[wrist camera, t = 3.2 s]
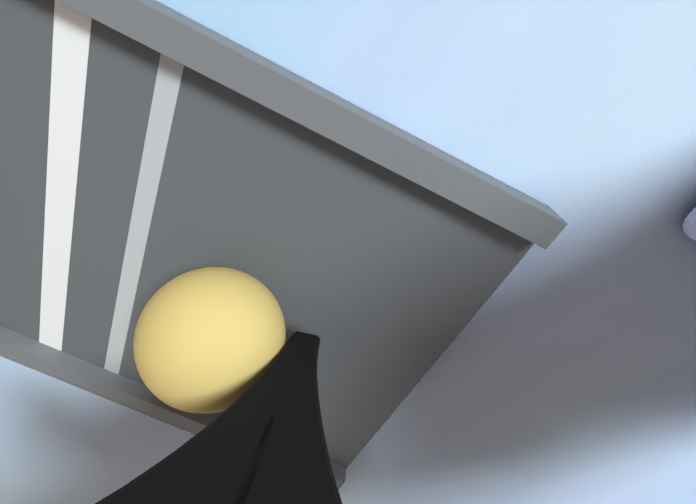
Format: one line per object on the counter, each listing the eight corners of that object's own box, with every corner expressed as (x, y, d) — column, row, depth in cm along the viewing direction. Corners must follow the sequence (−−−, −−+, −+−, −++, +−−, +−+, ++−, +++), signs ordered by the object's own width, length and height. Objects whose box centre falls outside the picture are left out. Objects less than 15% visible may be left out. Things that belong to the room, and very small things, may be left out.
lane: (549, 207, 10) (591, 247, 8) (340, 463, 17) (331, 525, 14) (-117, -142, 8) (-304, -216, 6) (-59, 299, 15) (-139, 341, 13)
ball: (322, 281, 11) (270, 372, 8) (280, 366, 13) (223, 471, 10) (206, 223, 11) (102, 286, 8) (181, 316, 13) (87, 401, 10)
